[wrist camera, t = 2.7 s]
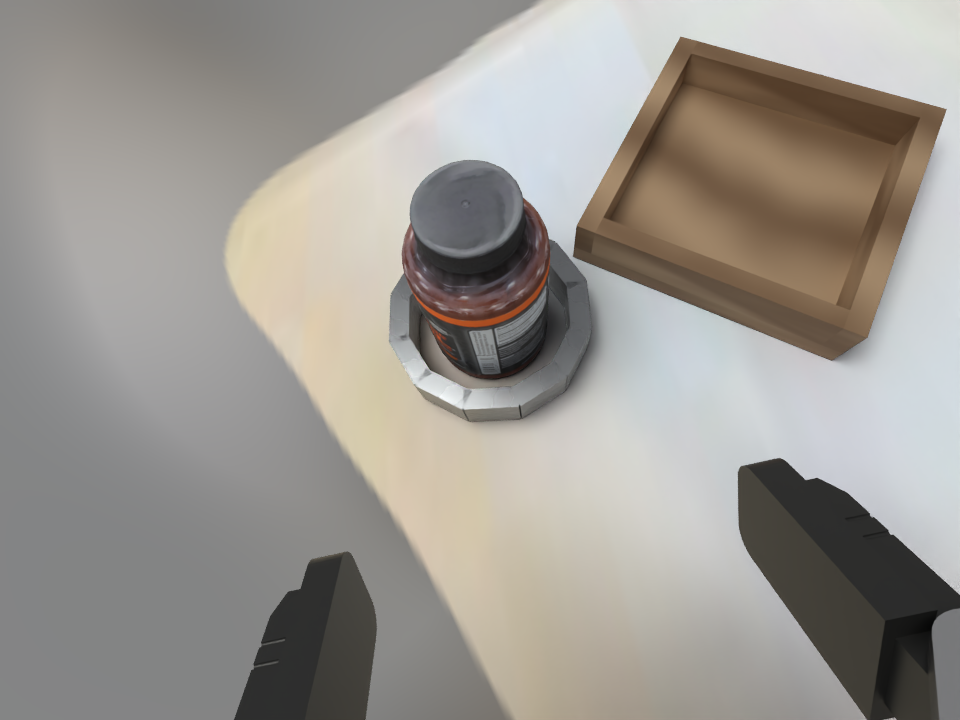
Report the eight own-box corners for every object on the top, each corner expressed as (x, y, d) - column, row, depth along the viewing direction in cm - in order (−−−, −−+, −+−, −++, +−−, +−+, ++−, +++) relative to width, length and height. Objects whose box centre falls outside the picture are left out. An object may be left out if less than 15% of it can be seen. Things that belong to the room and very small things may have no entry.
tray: (668, 80, 33) (680, 36, 30) (907, 150, 29) (946, 109, 27) (573, 256, 29) (576, 225, 27) (831, 360, 26) (867, 337, 23)
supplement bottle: (420, 313, 29) (353, 180, 19) (513, 264, 30) (499, 107, 19) (469, 403, 27) (425, 311, 17) (568, 349, 28) (586, 226, 17)
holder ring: (457, 226, 31) (450, 199, 29) (615, 291, 28) (622, 268, 26) (368, 369, 28) (352, 353, 26) (533, 454, 26) (532, 445, 24)
